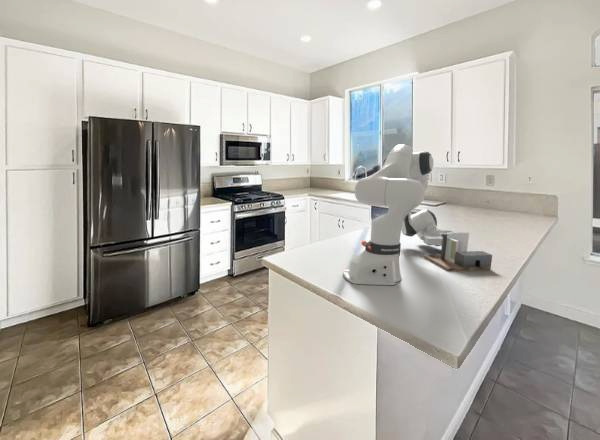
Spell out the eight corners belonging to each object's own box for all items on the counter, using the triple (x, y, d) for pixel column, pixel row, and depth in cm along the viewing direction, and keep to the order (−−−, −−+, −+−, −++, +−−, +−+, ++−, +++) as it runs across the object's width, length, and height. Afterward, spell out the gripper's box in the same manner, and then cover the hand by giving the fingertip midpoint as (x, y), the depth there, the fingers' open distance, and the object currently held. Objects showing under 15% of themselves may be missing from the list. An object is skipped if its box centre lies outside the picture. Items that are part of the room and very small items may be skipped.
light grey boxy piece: (451, 263, 138) (453, 238, 136) (435, 255, 149) (438, 232, 147) (481, 262, 140) (484, 237, 138) (464, 254, 151) (466, 232, 149)
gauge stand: (447, 271, 133) (450, 245, 131) (423, 257, 152) (425, 234, 150) (490, 269, 136) (493, 244, 134) (462, 256, 155) (464, 234, 153)
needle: (441, 259, 145) (444, 234, 143) (440, 258, 146) (442, 233, 144) (444, 259, 145) (447, 234, 143) (443, 258, 146) (445, 233, 144)
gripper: (418, 231, 162) (434, 237, 149) (455, 231, 165) (473, 237, 152) (417, 243, 163) (432, 251, 150) (454, 242, 166) (472, 250, 153)
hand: (453, 244), depth 151 cm, fingers closed
